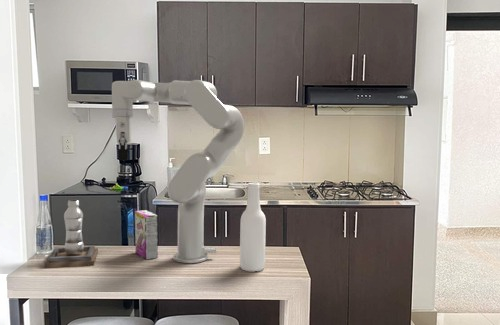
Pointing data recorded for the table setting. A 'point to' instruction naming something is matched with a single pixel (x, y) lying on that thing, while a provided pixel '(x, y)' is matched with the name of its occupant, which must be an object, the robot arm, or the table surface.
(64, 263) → the brown wooden tray
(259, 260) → the alcohol
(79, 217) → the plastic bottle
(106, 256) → the table surface
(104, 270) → the table surface
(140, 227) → the candy bar box
